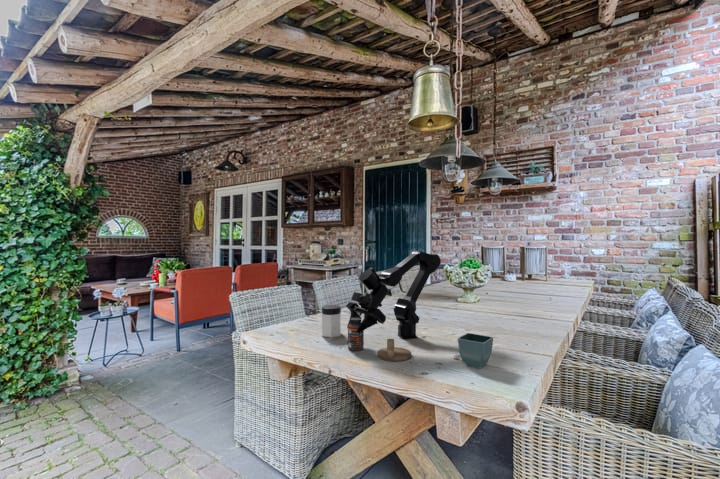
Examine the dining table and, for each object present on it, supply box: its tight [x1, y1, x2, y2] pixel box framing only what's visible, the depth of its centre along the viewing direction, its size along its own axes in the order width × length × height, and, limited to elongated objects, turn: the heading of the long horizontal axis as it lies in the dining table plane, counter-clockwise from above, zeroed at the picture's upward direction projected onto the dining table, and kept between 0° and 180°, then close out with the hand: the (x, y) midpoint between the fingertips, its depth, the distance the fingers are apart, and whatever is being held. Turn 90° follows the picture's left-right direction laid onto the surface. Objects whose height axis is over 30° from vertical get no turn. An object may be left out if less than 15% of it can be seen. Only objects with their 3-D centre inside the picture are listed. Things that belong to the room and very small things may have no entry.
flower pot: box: [457, 332, 494, 369], centre depth 112 cm, size 9×9×9 cm
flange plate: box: [376, 338, 412, 363], centre depth 121 cm, size 12×12×7 cm
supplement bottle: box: [347, 317, 365, 352], centre depth 129 cm, size 6×6×11 cm
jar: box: [321, 304, 342, 339], centre depth 148 cm, size 9×8×12 cm
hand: (352, 330), depth 128 cm, fingers closed on supplement bottle, 6 cm apart
